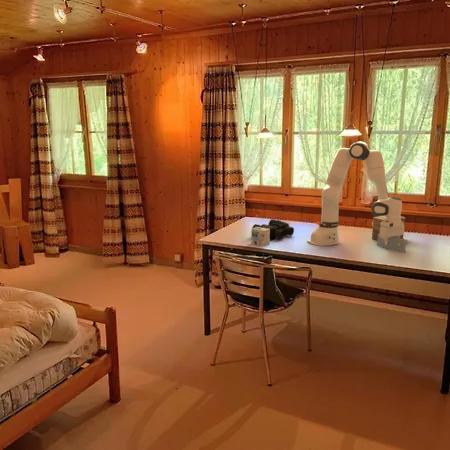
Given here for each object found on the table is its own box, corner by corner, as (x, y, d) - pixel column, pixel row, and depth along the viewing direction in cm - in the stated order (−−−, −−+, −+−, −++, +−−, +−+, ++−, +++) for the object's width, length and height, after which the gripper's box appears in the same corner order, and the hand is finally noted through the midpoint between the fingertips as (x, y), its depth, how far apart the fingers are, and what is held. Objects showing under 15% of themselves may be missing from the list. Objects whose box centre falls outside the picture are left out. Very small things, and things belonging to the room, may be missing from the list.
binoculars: (273, 229, 334) (274, 216, 331) (296, 236, 321) (298, 223, 319) (250, 237, 312) (251, 223, 310) (274, 244, 300) (276, 230, 297)
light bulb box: (250, 244, 296) (251, 228, 294) (256, 241, 302) (256, 226, 299) (264, 246, 290) (265, 230, 288) (269, 244, 296) (270, 228, 293)
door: (405, 252, 277) (406, 240, 275) (401, 253, 275) (402, 240, 274) (379, 245, 294) (380, 233, 292) (375, 245, 292) (376, 234, 290)
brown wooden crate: (388, 243, 296) (390, 221, 293) (370, 238, 309) (372, 217, 305) (407, 239, 307) (409, 218, 303) (389, 234, 319) (390, 214, 315)
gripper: (399, 219, 289) (397, 239, 292) (378, 223, 278) (376, 244, 281) (407, 221, 284) (405, 241, 287) (386, 225, 273) (385, 246, 276)
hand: (391, 243), depth 284 cm, fingers open, 8 cm apart
